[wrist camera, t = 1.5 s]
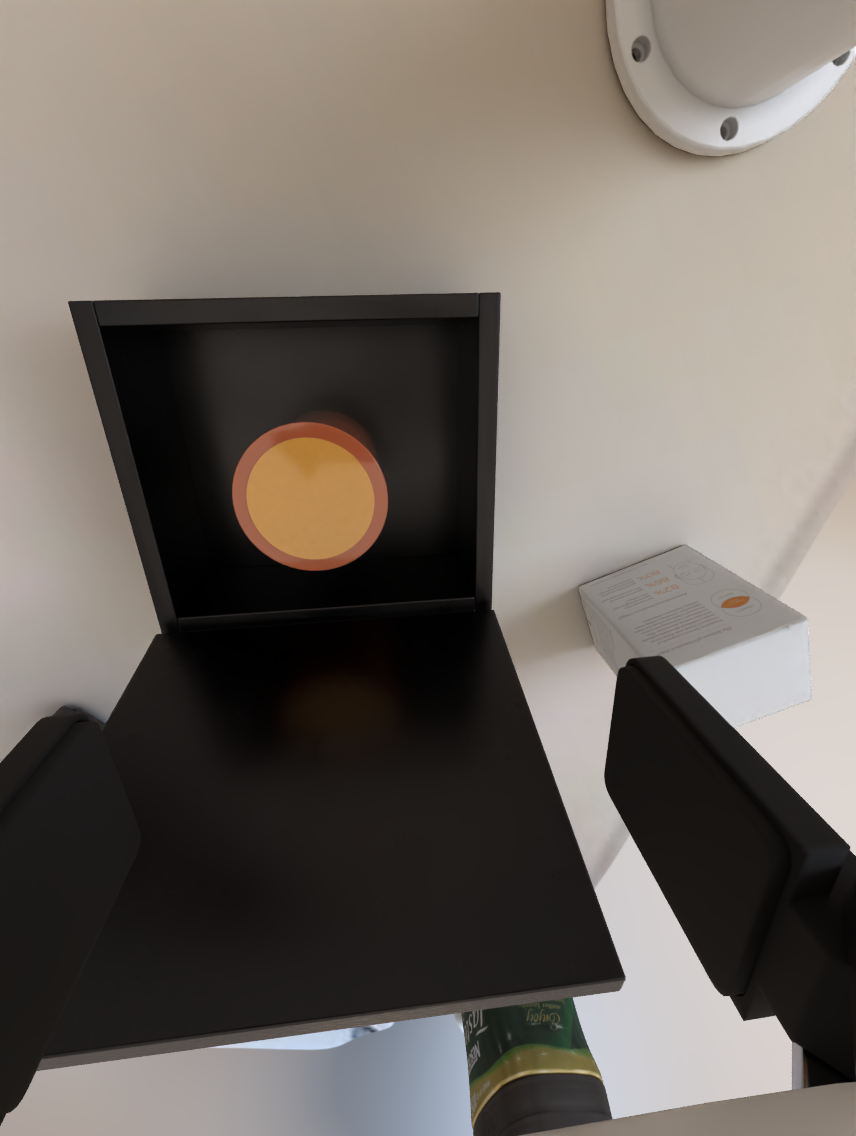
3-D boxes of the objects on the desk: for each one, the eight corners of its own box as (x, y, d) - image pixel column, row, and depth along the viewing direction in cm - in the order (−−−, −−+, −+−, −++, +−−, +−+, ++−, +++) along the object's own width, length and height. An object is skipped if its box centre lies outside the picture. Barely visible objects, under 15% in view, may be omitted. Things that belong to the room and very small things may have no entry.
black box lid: (-96, 1077, 11) (-3, 1126, 13) (626, 978, 12) (597, 1039, 15) (155, 633, 24) (180, 697, 27) (494, 609, 26) (489, 671, 28)
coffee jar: (464, 842, 43) (523, 1157, 27) (546, 852, 45) (651, 1155, 28) (433, 913, 47) (466, 1231, 30) (510, 919, 49) (583, 1224, 32)
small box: (593, 647, 36) (671, 754, 27) (575, 584, 34) (654, 676, 24) (698, 608, 36) (816, 702, 26) (687, 541, 34) (812, 618, 24)
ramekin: (257, 405, 27) (216, 425, 20) (381, 401, 27) (383, 419, 20) (276, 522, 29) (246, 576, 22) (388, 516, 30) (392, 566, 23)
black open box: (143, 312, 25) (67, 301, 19) (470, 305, 27) (500, 292, 20) (204, 577, 31) (162, 634, 25) (468, 560, 33) (491, 611, 26)
